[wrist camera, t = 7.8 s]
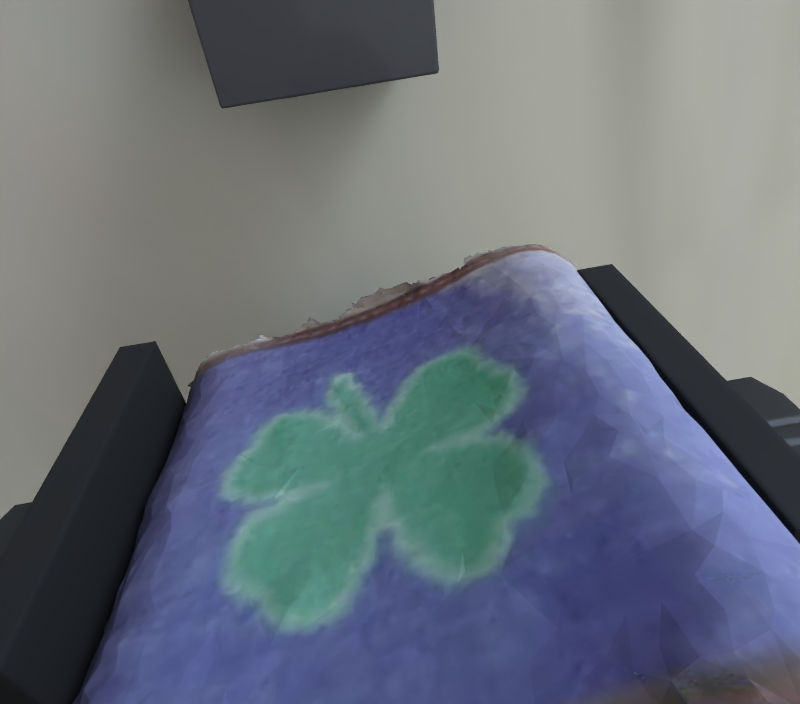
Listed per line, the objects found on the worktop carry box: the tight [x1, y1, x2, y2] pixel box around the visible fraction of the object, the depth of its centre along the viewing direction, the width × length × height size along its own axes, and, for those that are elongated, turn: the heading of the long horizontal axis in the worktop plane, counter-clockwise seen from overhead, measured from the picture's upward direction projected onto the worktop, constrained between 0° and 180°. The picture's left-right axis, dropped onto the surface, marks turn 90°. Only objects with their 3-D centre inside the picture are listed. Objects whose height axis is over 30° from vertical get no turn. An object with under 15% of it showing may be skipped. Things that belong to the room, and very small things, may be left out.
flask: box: [72, 245, 800, 704], centre depth 8 cm, size 9×3×11 cm, turn 109°
